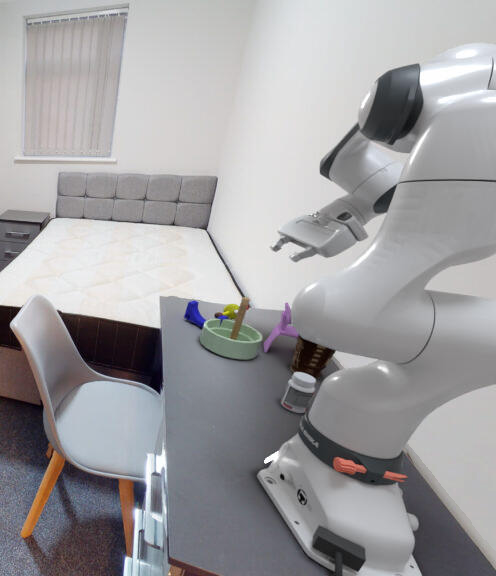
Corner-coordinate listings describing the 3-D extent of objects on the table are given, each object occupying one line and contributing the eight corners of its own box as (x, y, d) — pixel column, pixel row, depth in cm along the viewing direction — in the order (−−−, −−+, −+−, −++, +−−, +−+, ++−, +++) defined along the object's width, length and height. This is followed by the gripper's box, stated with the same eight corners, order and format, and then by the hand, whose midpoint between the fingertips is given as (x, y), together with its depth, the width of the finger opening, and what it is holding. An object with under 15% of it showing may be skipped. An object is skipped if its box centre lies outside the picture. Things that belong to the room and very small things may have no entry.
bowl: (263, 365, 102) (270, 346, 100) (204, 355, 106) (209, 337, 104) (247, 340, 115) (253, 323, 113) (195, 332, 119) (200, 315, 117)
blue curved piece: (225, 332, 118) (231, 316, 116) (216, 335, 117) (222, 319, 114) (192, 314, 128) (197, 299, 125) (183, 317, 126) (188, 302, 124)
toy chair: (303, 363, 103) (323, 315, 98) (265, 353, 108) (282, 307, 102) (298, 350, 110) (317, 304, 104) (263, 341, 114) (278, 297, 108)
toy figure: (222, 332, 119) (228, 313, 117) (205, 324, 124) (210, 306, 121) (252, 320, 128) (258, 302, 125) (236, 314, 132) (241, 296, 129)
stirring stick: (239, 350, 108) (255, 301, 102) (225, 347, 109) (240, 299, 103) (236, 344, 111) (251, 296, 105) (222, 342, 112) (237, 294, 106)
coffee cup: (311, 364, 103) (328, 323, 98) (334, 382, 95) (354, 339, 90) (278, 362, 104) (293, 321, 99) (298, 380, 96) (316, 336, 91)
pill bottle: (310, 415, 84) (323, 384, 81) (286, 412, 85) (299, 381, 81) (298, 401, 88) (310, 372, 85) (276, 398, 89) (287, 369, 86)
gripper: (304, 204, 103) (255, 236, 108) (360, 219, 84) (297, 256, 89) (316, 221, 104) (267, 252, 109) (374, 239, 85) (311, 275, 91)
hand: (281, 254), depth 99 cm, fingers open, 8 cm apart
